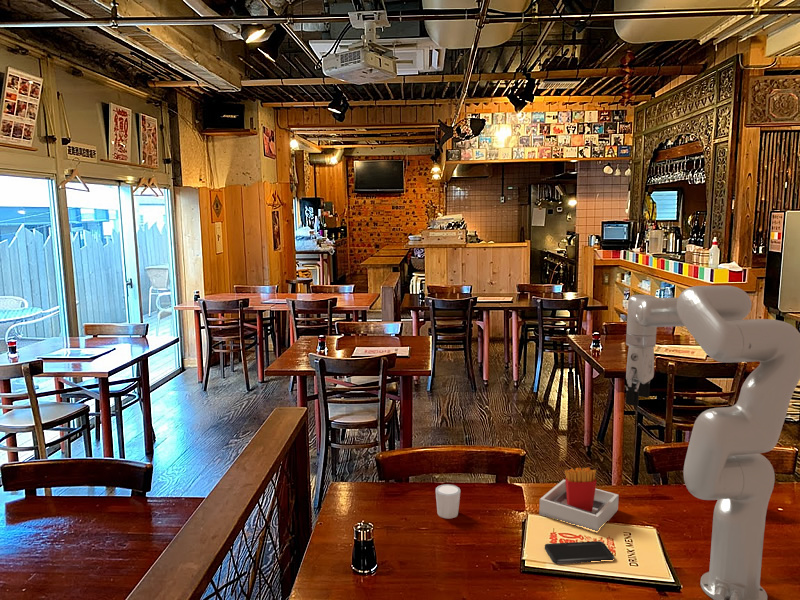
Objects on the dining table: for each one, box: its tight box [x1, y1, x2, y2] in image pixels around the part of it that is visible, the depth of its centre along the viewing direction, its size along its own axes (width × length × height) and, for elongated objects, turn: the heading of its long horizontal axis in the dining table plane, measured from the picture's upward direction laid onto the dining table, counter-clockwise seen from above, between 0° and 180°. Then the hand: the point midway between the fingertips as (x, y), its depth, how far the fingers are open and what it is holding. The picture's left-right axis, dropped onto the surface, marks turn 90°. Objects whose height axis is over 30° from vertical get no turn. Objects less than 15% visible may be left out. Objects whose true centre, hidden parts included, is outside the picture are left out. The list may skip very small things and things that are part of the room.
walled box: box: [538, 478, 620, 531], centre depth 164 cm, size 16×16×4 cm
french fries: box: [564, 466, 597, 512], centre depth 163 cm, size 8×4×12 cm, turn 94°
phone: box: [544, 540, 615, 565], centre depth 144 cm, size 8×1×15 cm
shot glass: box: [435, 483, 461, 520], centre depth 163 cm, size 7×7×7 cm
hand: (637, 400), depth 165 cm, fingers open, 9 cm apart
